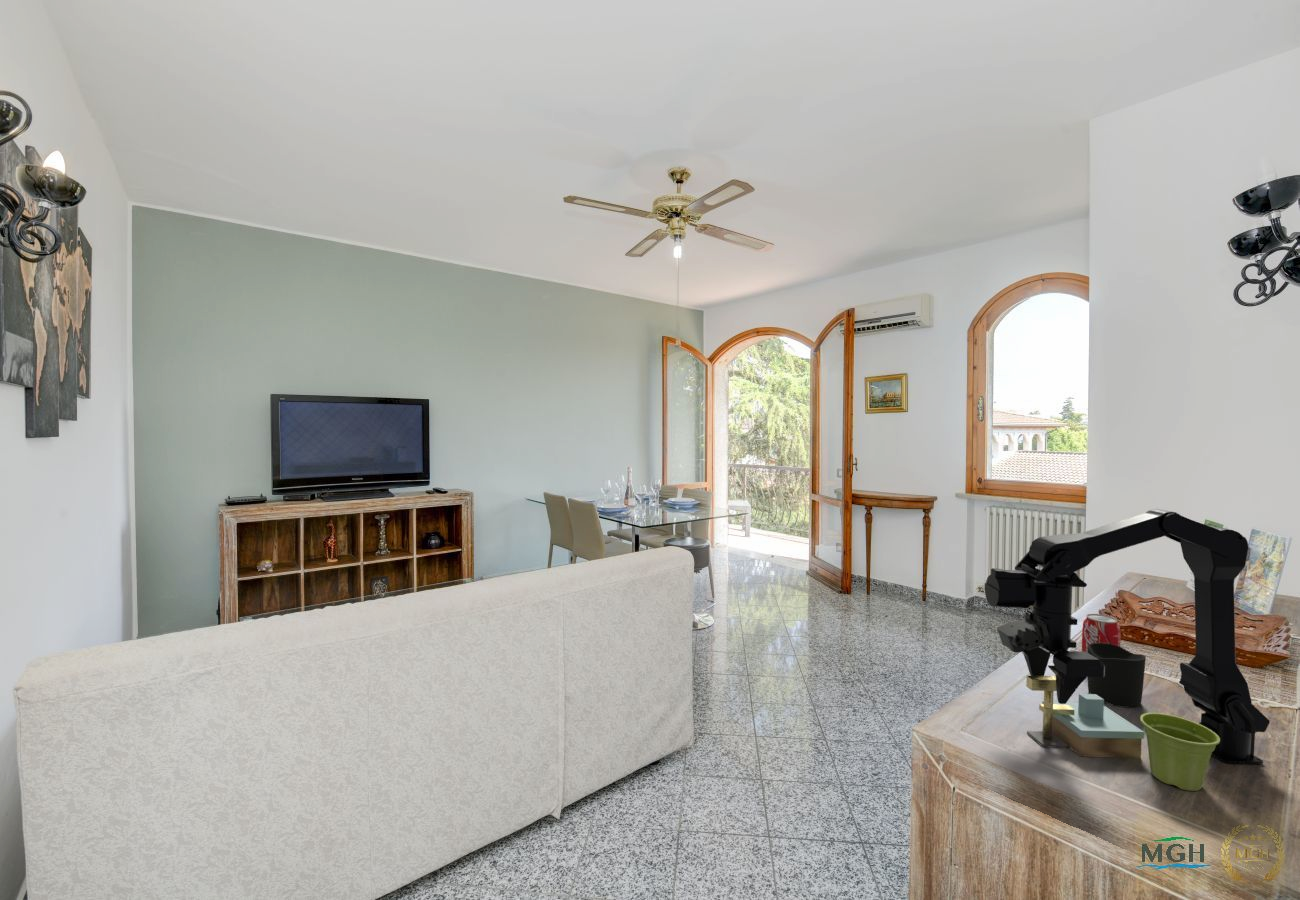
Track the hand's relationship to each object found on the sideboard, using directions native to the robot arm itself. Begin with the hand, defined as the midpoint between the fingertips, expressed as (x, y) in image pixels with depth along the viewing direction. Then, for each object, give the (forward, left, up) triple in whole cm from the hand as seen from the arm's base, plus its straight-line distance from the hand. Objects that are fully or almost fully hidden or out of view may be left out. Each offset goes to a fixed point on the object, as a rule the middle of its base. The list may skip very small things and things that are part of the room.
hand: (1048, 694), depth 103 cm
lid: (-7, 0, -5) cm, 9 cm away
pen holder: (-24, -17, -9) cm, 31 cm away
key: (0, 0, -8) cm, 8 cm away
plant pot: (-13, +11, -9) cm, 19 cm away
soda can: (-32, -32, -9) cm, 46 cm away
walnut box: (-5, 0, -9) cm, 10 cm away
